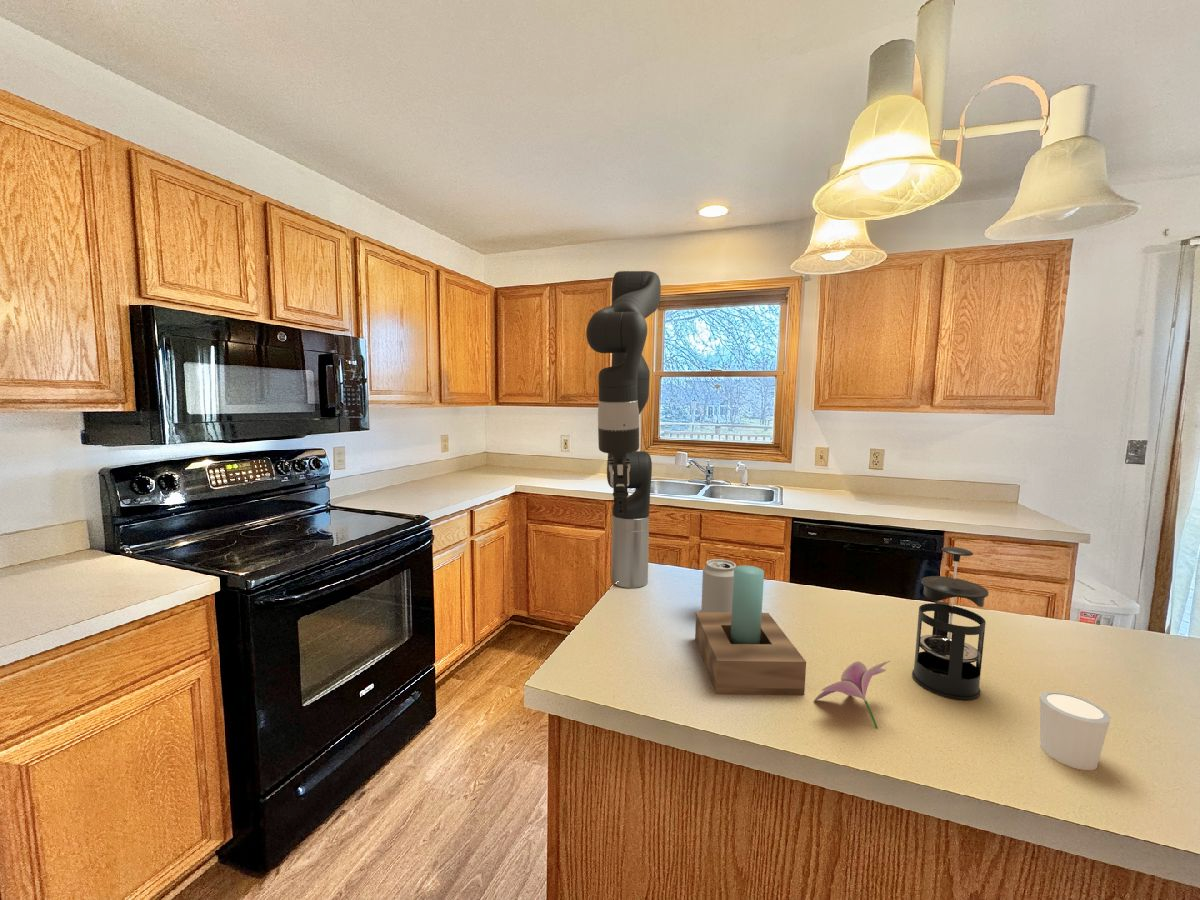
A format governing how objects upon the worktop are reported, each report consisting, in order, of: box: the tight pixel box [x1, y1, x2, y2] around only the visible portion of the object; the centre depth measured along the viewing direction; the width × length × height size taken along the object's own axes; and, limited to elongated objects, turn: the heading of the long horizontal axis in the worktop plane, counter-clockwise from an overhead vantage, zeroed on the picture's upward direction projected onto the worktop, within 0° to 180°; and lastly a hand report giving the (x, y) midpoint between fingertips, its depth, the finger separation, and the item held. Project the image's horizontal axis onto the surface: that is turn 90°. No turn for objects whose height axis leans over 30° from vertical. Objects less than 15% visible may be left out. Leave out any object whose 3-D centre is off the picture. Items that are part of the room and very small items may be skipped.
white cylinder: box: [1039, 690, 1111, 771], centre depth 67 cm, size 7×7×7 cm
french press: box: [911, 546, 989, 701], centre depth 83 cm, size 12×9×23 cm
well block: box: [694, 611, 807, 696], centre depth 89 cm, size 18×14×6 cm
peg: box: [730, 564, 765, 644], centre depth 88 cm, size 5×5×16 cm
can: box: [700, 558, 737, 612], centre depth 107 cm, size 8×8×12 cm
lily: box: [813, 660, 891, 730], centre depth 75 cm, size 12×12×10 cm
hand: (619, 509), depth 96 cm, fingers open, 8 cm apart
